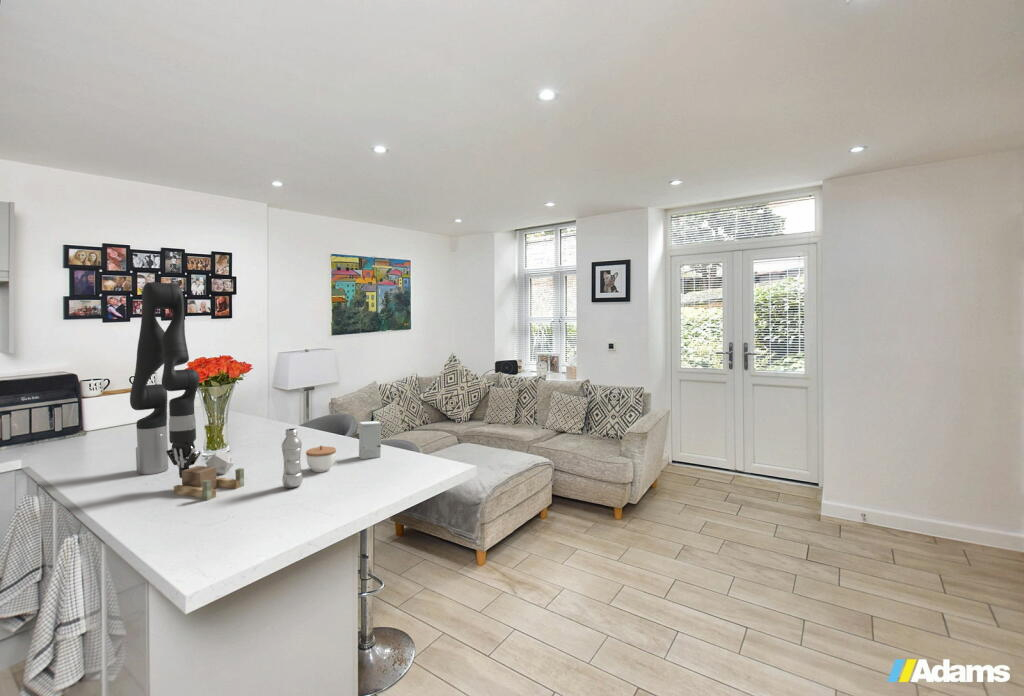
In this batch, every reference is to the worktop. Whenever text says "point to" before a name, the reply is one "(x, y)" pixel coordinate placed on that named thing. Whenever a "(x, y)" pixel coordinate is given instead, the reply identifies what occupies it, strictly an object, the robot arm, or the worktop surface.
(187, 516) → the worktop surface
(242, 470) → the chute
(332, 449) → the lidded jar
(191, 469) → the block
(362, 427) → the skincare box
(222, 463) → the die
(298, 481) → the plastic bottle
